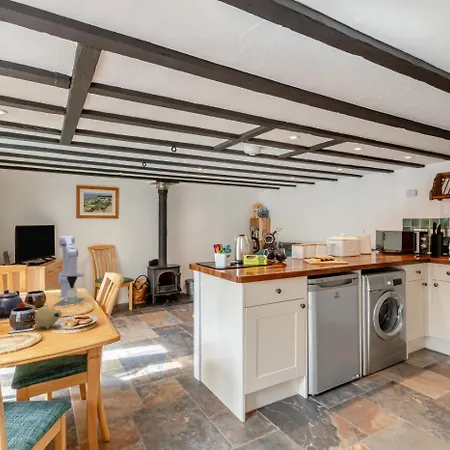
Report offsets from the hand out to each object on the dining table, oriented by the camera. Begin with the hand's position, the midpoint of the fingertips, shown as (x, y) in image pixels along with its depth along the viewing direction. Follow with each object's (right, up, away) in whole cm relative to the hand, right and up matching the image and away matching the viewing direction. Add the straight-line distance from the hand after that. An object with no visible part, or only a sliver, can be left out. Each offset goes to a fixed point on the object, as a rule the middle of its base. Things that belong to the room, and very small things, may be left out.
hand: (72, 287), depth 206 cm
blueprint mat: (-3, -10, +4) cm, 12 cm away
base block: (0, -10, 0) cm, 10 cm away
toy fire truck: (-4, -11, -37) cm, 38 cm away
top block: (0, -6, 0) cm, 6 cm away
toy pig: (+11, -11, -47) cm, 50 cm away
